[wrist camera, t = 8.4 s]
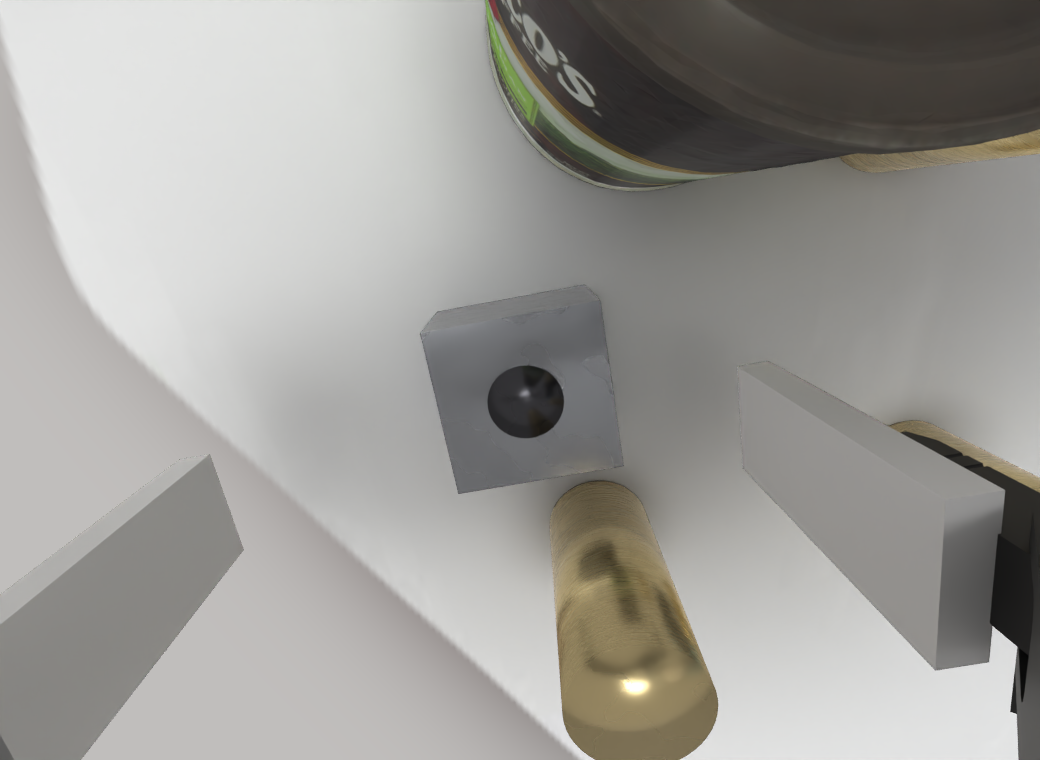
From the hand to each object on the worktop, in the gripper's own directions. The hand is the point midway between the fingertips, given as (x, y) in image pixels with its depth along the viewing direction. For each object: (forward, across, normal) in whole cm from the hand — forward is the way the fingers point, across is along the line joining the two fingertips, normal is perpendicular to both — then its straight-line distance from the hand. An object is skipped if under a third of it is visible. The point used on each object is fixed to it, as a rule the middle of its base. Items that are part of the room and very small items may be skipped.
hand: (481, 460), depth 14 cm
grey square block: (+8, -1, 0) cm, 8 cm away
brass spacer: (+8, -3, +7) cm, 11 cm away
